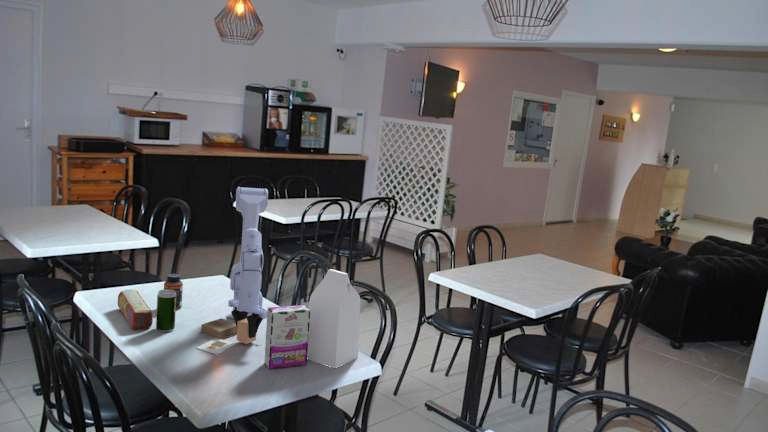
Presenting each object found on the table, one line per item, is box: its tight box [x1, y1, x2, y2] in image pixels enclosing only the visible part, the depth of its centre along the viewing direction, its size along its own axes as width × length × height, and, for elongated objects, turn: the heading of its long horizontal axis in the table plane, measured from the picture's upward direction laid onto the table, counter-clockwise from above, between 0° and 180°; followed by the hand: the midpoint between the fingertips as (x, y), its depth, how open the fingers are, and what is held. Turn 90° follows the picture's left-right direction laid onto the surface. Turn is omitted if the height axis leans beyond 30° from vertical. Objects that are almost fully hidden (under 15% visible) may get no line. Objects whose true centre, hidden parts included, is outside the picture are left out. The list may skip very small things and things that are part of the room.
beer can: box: [155, 288, 177, 333], centre depth 184 cm, size 5×5×12 cm
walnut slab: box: [200, 318, 237, 340], centre depth 187 cm, size 8×8×3 cm
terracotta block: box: [236, 318, 257, 345], centre depth 181 cm, size 4×4×6 cm
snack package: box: [117, 288, 154, 331], centre depth 191 cm, size 21×7×7 cm, turn 34°
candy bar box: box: [264, 304, 310, 370], centre depth 169 cm, size 11×5×16 cm, turn 117°
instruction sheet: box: [195, 338, 236, 355], centre depth 177 cm, size 9×7×1 cm
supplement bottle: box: [163, 273, 184, 311], centre depth 203 cm, size 6×6×11 cm
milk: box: [307, 268, 361, 369], centre depth 176 cm, size 12×12×26 cm
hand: (246, 335), depth 181 cm, fingers closed on terracotta block, 4 cm apart
